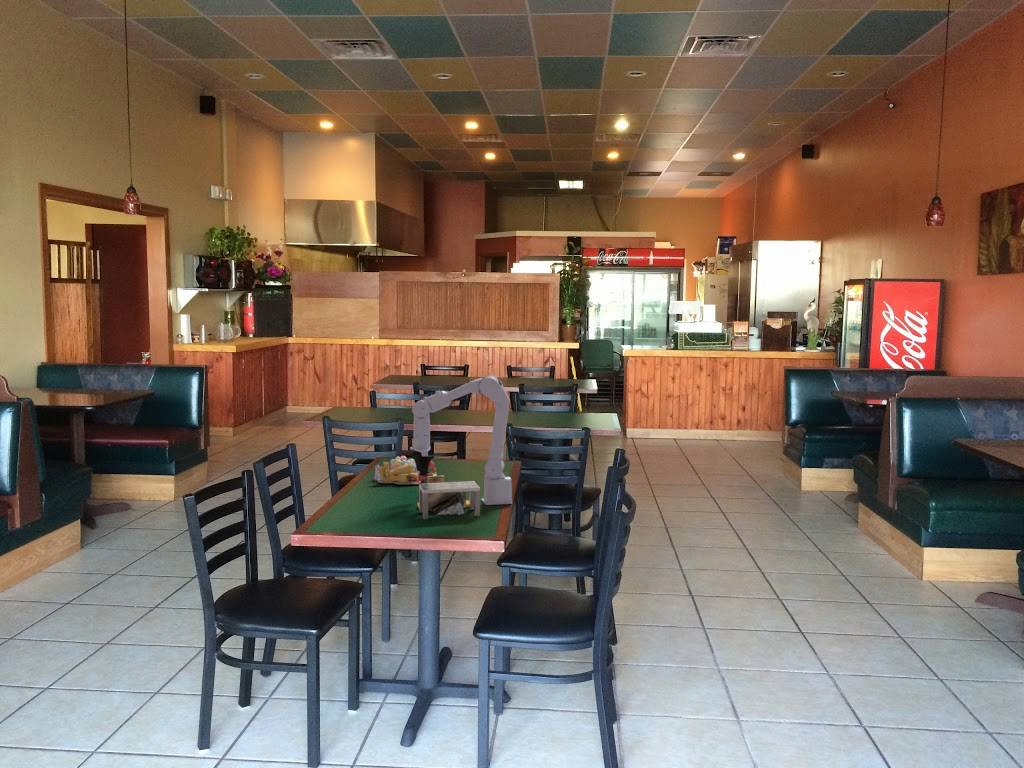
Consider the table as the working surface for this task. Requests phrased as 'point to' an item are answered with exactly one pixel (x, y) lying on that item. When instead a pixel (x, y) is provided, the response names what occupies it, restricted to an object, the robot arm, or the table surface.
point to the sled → (437, 496)
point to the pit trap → (466, 504)
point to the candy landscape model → (402, 472)
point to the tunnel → (449, 487)
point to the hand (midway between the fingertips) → (421, 473)
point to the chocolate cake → (449, 505)
